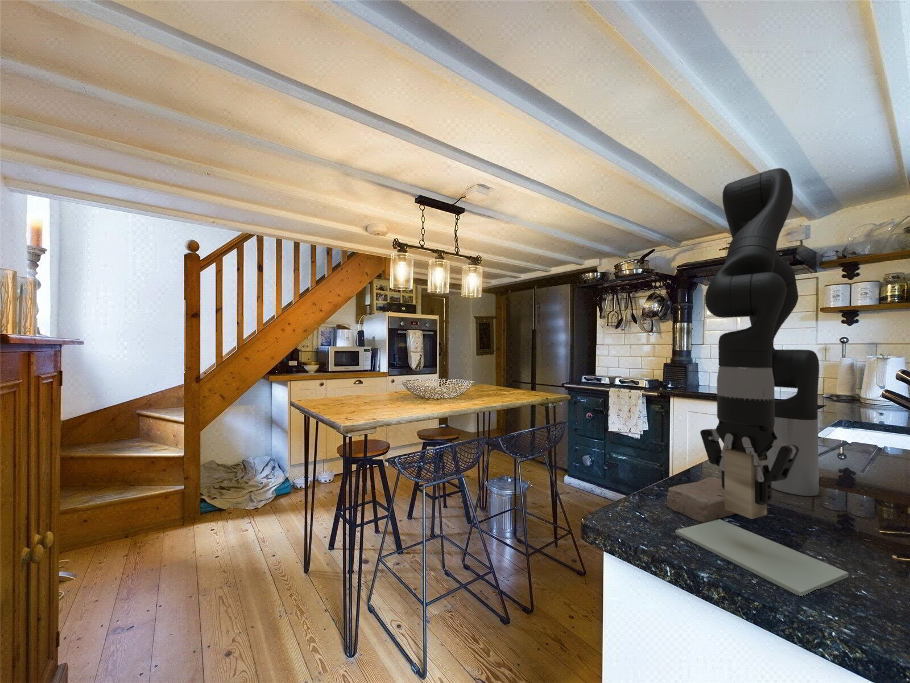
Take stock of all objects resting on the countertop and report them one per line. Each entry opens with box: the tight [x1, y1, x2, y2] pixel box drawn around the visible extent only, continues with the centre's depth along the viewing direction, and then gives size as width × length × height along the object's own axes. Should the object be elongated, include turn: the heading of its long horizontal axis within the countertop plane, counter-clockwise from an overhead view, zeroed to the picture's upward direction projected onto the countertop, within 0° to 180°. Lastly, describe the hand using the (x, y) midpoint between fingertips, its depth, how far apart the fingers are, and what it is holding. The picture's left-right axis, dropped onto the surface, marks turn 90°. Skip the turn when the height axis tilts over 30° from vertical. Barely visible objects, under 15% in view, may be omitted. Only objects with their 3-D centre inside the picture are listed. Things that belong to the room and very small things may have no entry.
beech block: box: [724, 449, 768, 520], centre depth 61 cm, size 4×4×10 cm
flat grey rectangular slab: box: [675, 518, 849, 597], centre depth 60 cm, size 12×18×1 cm, turn 22°
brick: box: [666, 476, 738, 523], centre depth 77 cm, size 17×8×5 cm, turn 114°
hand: (745, 497), depth 61 cm, fingers closed on beech block, 4 cm apart
